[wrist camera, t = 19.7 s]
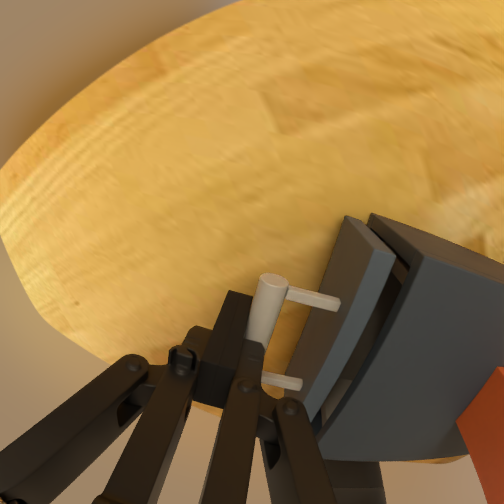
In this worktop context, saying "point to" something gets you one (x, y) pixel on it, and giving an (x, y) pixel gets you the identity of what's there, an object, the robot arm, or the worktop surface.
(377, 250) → the drawer
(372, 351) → the cabinet
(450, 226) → the worktop surface
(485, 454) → the box
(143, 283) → the worktop surface
